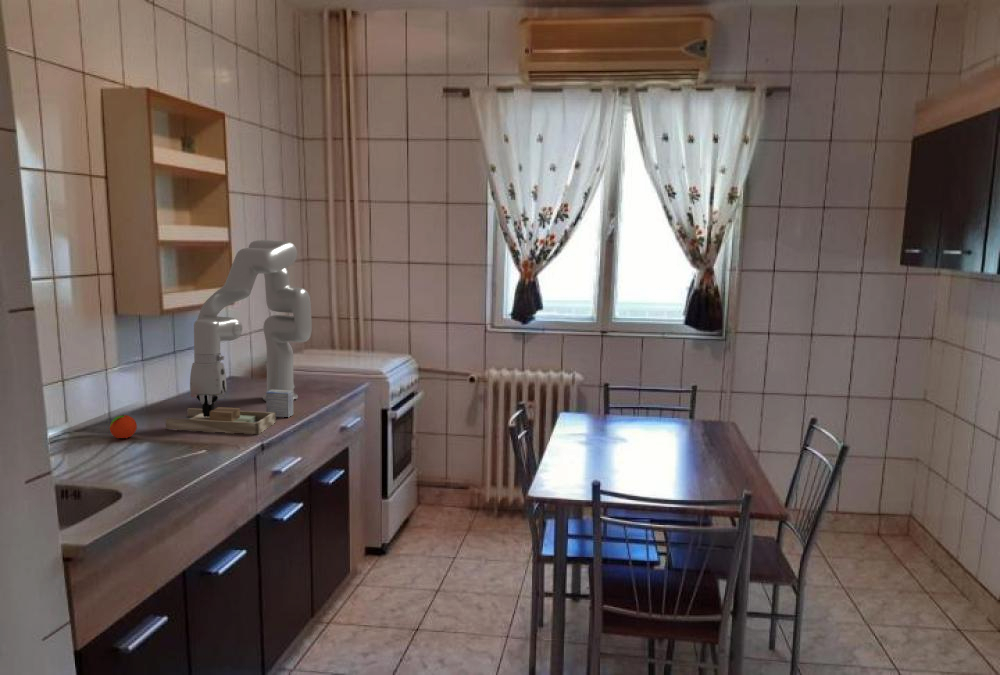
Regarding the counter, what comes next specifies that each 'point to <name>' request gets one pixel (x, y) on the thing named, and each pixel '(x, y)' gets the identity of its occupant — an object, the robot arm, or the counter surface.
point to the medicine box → (280, 402)
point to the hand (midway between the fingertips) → (208, 415)
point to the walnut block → (225, 414)
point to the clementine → (123, 426)
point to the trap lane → (224, 422)
